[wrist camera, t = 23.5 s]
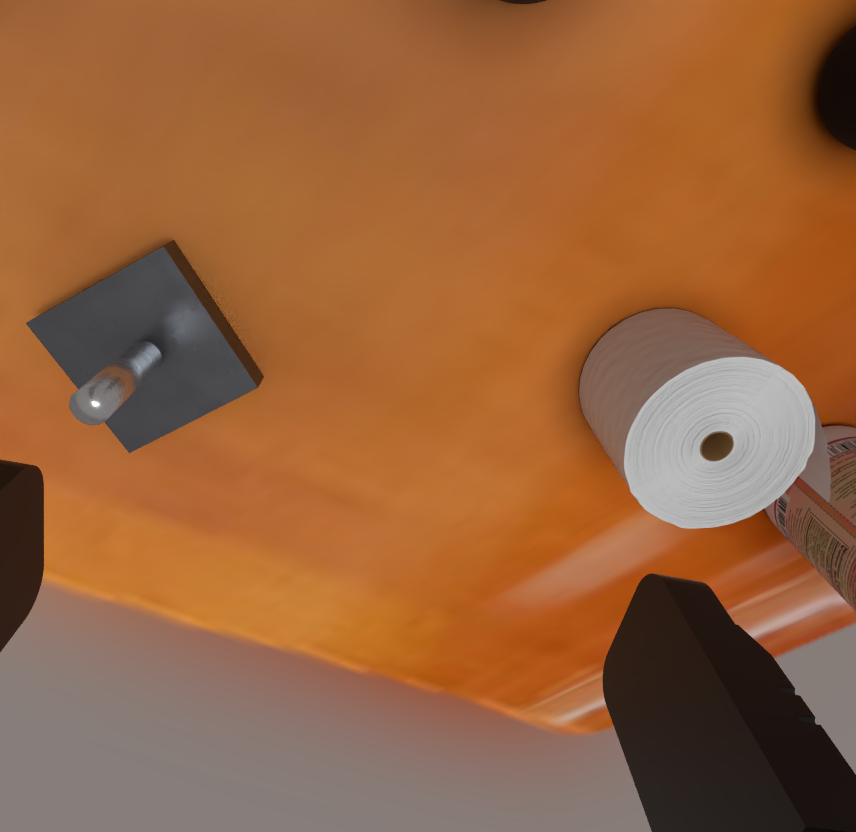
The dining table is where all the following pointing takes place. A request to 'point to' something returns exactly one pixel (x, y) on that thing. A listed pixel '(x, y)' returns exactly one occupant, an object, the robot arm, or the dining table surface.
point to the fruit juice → (825, 516)
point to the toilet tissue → (699, 419)
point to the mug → (840, 91)
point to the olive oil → (523, 1)
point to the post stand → (147, 349)
